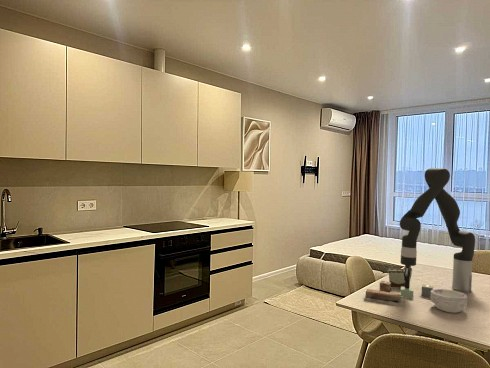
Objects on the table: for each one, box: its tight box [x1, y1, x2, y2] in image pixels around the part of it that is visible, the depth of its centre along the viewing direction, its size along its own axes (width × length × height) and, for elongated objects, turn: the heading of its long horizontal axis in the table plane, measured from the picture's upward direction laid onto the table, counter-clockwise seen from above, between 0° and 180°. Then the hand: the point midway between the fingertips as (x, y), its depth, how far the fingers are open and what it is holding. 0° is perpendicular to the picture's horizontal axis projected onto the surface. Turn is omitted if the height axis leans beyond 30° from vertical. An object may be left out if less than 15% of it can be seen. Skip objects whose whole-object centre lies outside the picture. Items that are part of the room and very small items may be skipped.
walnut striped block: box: [378, 280, 392, 293], centre depth 194 cm, size 5×5×5 cm
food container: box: [387, 267, 405, 289], centre depth 205 cm, size 12×6×10 cm, turn 84°
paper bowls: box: [429, 288, 468, 314], centre depth 170 cm, size 15×15×8 cm
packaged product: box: [364, 288, 405, 308], centre depth 179 cm, size 18×5×10 cm
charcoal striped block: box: [421, 284, 434, 298], centre depth 190 cm, size 5×5×5 cm
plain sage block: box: [400, 287, 414, 299], centre depth 188 cm, size 6×6×4 cm
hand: (407, 288), depth 188 cm, fingers closed
